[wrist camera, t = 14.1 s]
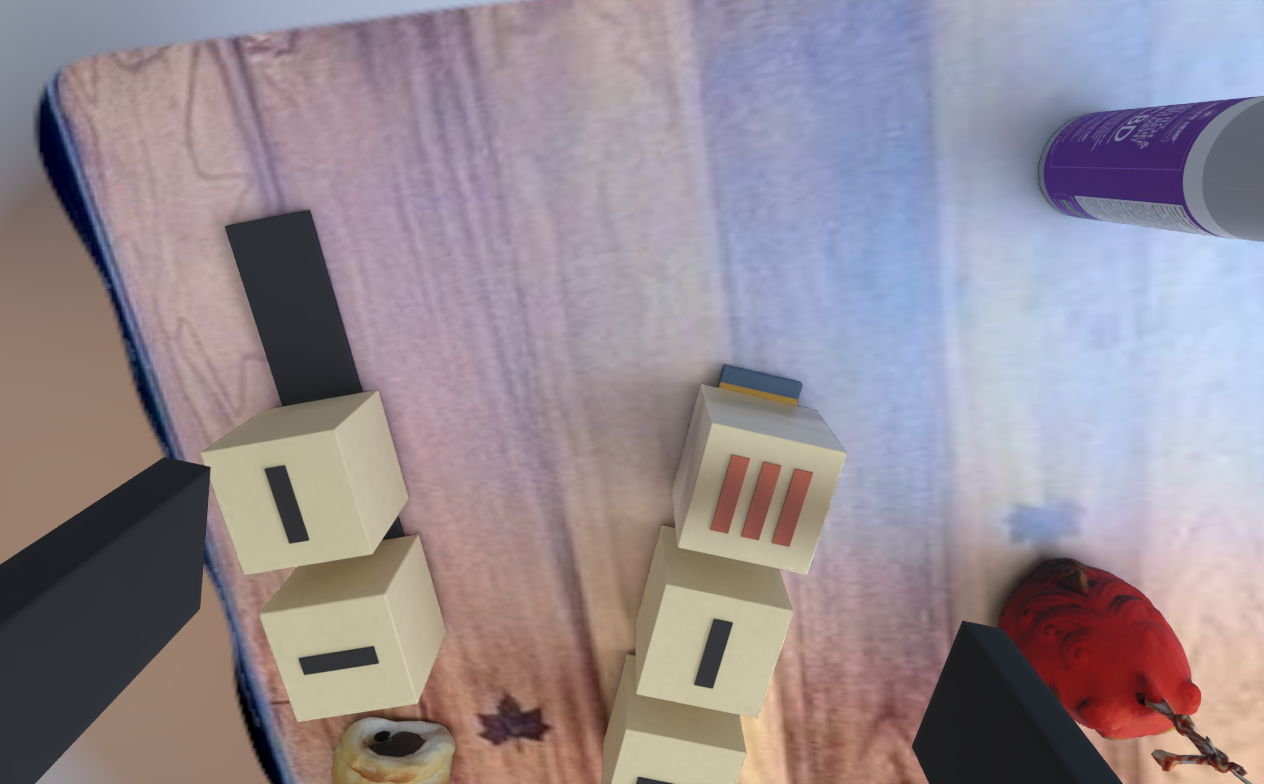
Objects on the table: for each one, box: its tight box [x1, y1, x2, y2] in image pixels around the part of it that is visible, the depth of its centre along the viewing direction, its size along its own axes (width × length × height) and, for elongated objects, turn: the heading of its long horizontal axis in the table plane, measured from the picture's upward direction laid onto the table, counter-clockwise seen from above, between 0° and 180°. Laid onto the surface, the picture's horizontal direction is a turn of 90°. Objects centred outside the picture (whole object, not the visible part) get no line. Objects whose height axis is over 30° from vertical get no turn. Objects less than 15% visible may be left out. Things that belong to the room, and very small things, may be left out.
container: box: [1039, 96, 1264, 242], centre depth 29 cm, size 5×5×15 cm
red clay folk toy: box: [999, 558, 1252, 784], centre depth 36 cm, size 8×7×15 cm
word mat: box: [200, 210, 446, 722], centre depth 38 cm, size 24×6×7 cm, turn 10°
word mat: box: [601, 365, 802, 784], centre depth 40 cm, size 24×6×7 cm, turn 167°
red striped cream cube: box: [672, 384, 847, 575], centre depth 37 cm, size 6×6×6 cm
